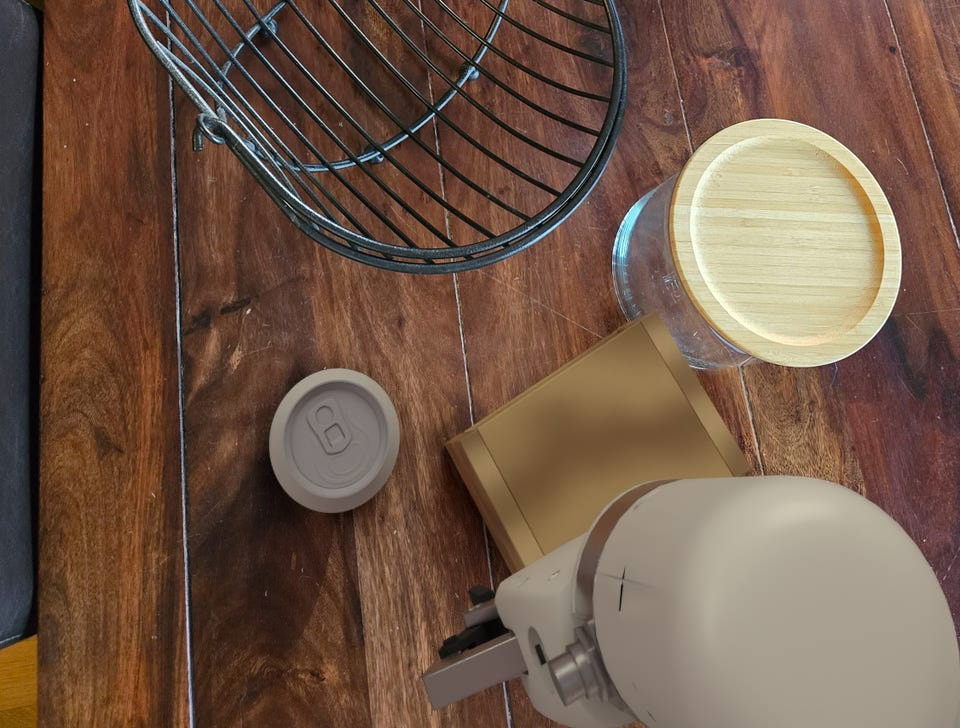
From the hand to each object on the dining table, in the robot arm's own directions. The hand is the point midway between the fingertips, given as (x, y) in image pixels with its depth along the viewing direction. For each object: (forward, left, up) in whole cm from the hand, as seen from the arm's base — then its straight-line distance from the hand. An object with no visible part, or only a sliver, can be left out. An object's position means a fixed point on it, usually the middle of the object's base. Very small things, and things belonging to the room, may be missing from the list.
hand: (580, 572), depth 54 cm
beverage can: (+11, +7, -17) cm, 22 cm away
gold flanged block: (+2, -6, -17) cm, 18 cm away
